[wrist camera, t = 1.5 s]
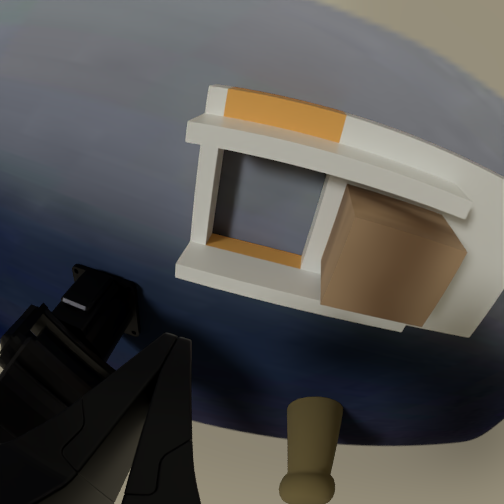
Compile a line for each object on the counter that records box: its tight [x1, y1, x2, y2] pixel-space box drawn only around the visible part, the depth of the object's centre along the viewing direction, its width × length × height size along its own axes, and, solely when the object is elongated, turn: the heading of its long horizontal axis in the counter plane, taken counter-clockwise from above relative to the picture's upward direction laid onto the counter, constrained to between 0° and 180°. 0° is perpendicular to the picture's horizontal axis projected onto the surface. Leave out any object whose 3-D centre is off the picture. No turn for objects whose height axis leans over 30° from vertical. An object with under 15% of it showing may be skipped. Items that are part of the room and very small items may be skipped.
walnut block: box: [320, 184, 467, 327], centre depth 16 cm, size 6×5×4 cm
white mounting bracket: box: [175, 84, 504, 338], centre depth 17 cm, size 22×12×4 cm, turn 80°
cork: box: [279, 397, 343, 504], centre depth 26 cm, size 6×6×11 cm
